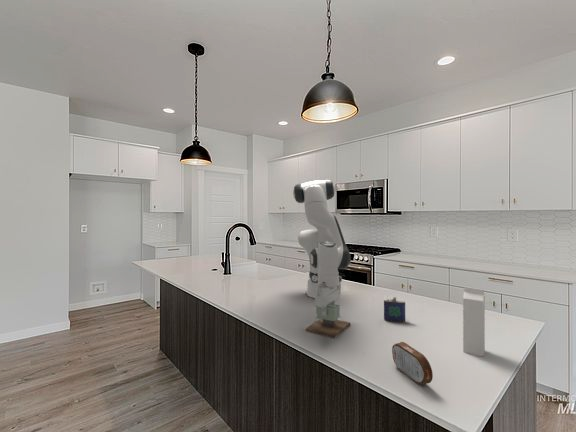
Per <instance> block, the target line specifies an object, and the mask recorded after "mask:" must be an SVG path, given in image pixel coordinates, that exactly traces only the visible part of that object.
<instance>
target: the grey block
mask: <svg viewBox="0 0 576 432" xmlns="http://www.w3.org/2000/svg"><path fill="white" fill-rule="evenodd" d="M323 325H325V326H329V327H333V326H334V325H335V321H331V320H325V319H323Z"/></svg>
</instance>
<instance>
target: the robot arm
mask: <svg viewBox="0 0 576 432" xmlns="http://www.w3.org/2000/svg"><path fill="white" fill-rule="evenodd" d="M335 193H336V187H335V184H334V183H333V181H332V180H330V179H324V180H323V179H322V180H321V179H320V180H312V181H306V182H303V183H298V184H295V186H294V187H293V191H292V194H293V199H294V200H295V202H296V203H298V204H304V213H305V217H306V221H307V223H308V224H309V225H310V226H312V227H314V228H315V229H304V230H301V231H300V232H299V233H298V235H297V241H298V245H300V247H301V248H303V249H304V250H305V251H306V253H307V256H308V259H309V272H308V275H309V278H308V280H307V286H306V290H305V294H306V295H307V297H309V298H313V299H314V307H315V308H316V309H317V308H321V310H322V315H323V316H326V315H327V310H326V308H327V305H328V304H336V300H337V299H338V298H340V296H341V290H342V282H343V281H342V280H343V277H342V276H341V275H339V270H346V269H347V268H348V266H350V264H351V262H352V256H351V253H350V250H349V249H348V246H347V243H346V241H345V238H344V236H343V232H342V230H341V227H340V223H339V221H338V219H337V217H336V216H335V215H334V214H332V212H331V211H330V209H329V207H328V201H329V200H332V199H333V198H335V197H334V196H335Z"/></svg>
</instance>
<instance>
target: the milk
mask: <svg viewBox="0 0 576 432" xmlns="http://www.w3.org/2000/svg"><path fill="white" fill-rule="evenodd" d="M485 297H486V296H485V290H484V289H480V288H473V287H464V288H463V298H462V308H463V309H462V330H463V331H462V335H463V337H462V343H463V344H462V346H463V347H462V352H463V353H467V354H469V355H474V356H479V357H484V355H485V350H486V349H485V348H486V346H485V342H486V341H485V340H486V337H485V336H486V335H485V334H486V333H485V330H486V329H485V327H486V326H485V324H486V322H485V320H486V318H485V317H486V316H485V313H486V311H485V309H486V308H485V307H486V306H485V303H486V302H485Z"/></svg>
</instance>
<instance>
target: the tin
mask: <svg viewBox="0 0 576 432" xmlns="http://www.w3.org/2000/svg"><path fill="white" fill-rule="evenodd" d="M391 352H392V353H391V354H392V359H393V362H394V364H395V367H397V369H398V370H399V371H400V372H402V373H403V374H404V375H406V376H407V377H408V378H409V379H411V380H412V381H413V382H414V383H416V384H417V385H420V386H422V385H427V384H430V383H431V382H432V381H433V377H434V374H433V369H432V366H431V364H430V362H429V360H428V358H427V357H426V356H425V355H424V354H423V353H421V352H420V351H418V349H417V350H416V349H415V348H414V347H412V346H411V345H409V344H408V343H406V342H405V341H399V342H397V343H394V344H393V345H392V348H391Z"/></svg>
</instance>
